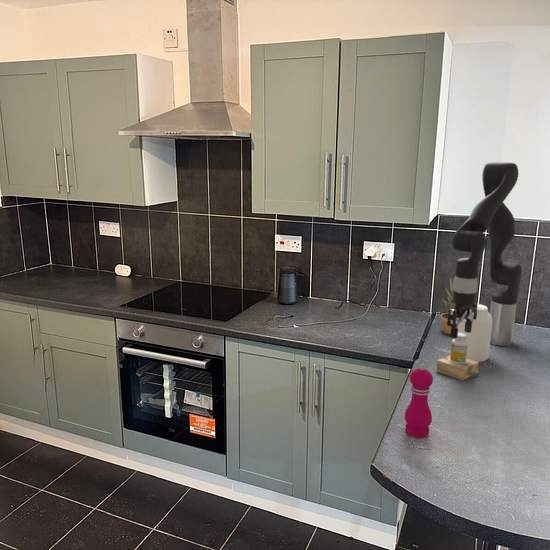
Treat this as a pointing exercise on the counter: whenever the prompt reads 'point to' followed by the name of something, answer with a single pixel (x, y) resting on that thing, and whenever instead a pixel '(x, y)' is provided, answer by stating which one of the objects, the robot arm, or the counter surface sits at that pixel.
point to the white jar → (478, 335)
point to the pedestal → (457, 368)
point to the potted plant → (451, 306)
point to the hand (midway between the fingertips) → (460, 334)
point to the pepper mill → (419, 403)
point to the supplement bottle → (459, 349)
